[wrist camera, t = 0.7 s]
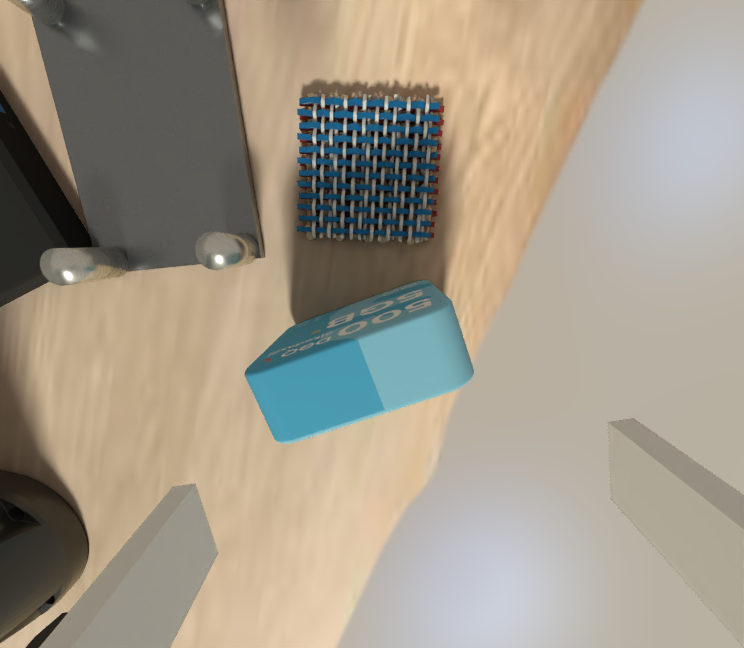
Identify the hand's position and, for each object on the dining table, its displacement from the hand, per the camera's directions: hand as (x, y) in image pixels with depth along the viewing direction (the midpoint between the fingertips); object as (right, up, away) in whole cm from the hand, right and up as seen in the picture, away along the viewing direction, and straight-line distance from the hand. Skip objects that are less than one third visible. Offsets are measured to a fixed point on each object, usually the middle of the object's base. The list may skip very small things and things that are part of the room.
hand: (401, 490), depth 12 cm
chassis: (-17, +19, +16) cm, 30 cm away
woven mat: (-1, +17, +17) cm, 24 cm away
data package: (-1, +5, +19) cm, 20 cm away
